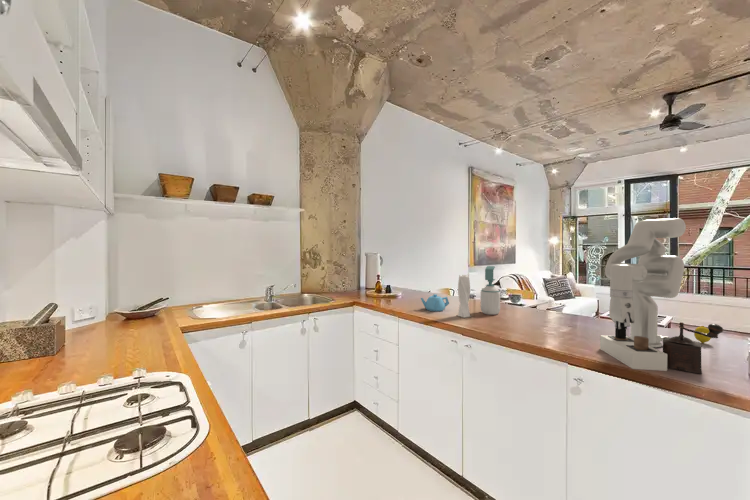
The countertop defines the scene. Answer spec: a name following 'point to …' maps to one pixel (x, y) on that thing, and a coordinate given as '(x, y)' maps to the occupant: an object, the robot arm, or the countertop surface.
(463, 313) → the twisted white vase
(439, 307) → the teapot
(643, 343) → the peg
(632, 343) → the peg block
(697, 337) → the lemon
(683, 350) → the coffee grinder
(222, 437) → the countertop surface
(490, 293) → the soap bottle
